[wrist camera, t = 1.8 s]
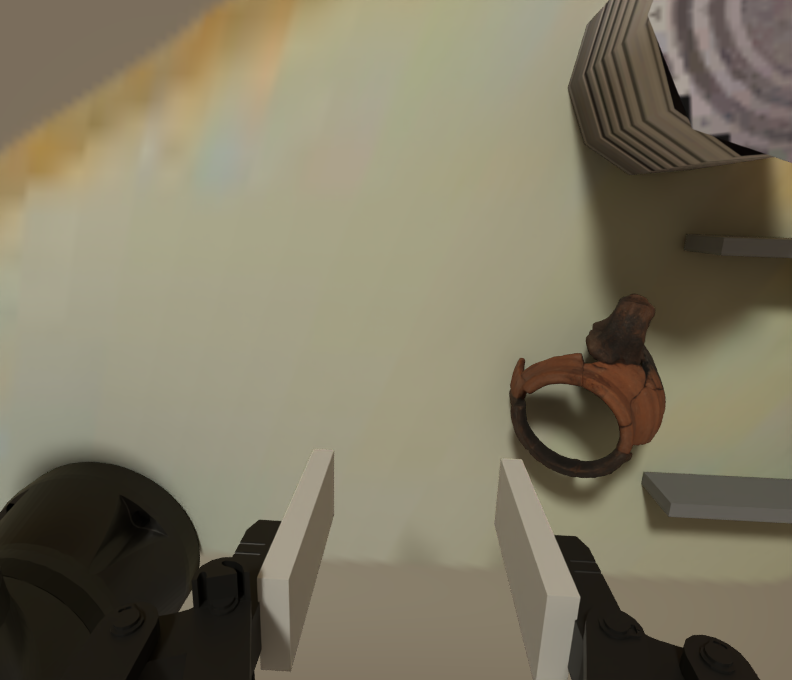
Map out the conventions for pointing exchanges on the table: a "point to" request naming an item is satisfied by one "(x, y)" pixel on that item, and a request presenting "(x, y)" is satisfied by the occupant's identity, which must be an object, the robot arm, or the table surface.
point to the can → (685, 83)
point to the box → (726, 492)
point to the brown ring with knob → (600, 387)
